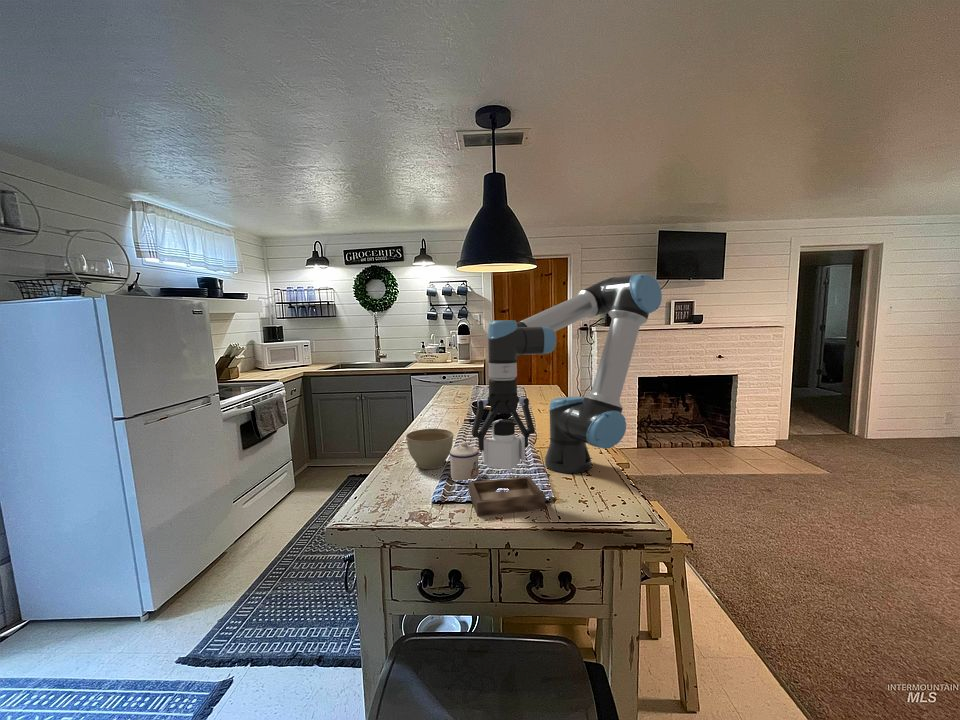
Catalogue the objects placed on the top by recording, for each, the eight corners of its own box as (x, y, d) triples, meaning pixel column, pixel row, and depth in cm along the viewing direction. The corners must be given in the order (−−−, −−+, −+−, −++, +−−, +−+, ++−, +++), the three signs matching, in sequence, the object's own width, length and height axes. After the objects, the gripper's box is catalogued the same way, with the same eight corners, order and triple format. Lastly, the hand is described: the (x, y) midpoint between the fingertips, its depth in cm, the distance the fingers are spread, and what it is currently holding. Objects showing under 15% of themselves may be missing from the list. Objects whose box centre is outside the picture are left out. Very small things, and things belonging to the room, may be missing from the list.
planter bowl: (438, 476, 134) (437, 443, 133) (397, 469, 141) (396, 438, 140) (462, 460, 149) (461, 430, 147) (424, 455, 156) (423, 426, 154)
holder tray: (529, 487, 123) (529, 476, 123) (545, 508, 109) (545, 495, 109) (468, 493, 120) (468, 482, 120) (477, 516, 106) (477, 502, 106)
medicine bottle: (520, 462, 115) (520, 419, 114) (511, 470, 109) (511, 425, 108) (496, 458, 118) (496, 417, 117) (486, 466, 112) (485, 422, 111)
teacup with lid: (477, 485, 126) (476, 447, 125) (447, 484, 128) (446, 446, 126) (482, 470, 138) (481, 436, 137) (455, 470, 139) (454, 435, 138)
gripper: (463, 382, 106) (464, 468, 108) (547, 378, 110) (547, 462, 112) (459, 378, 113) (460, 459, 115) (538, 375, 117) (538, 453, 119)
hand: (503, 460), depth 113 cm, fingers closed on medicine bottle, 10 cm apart
